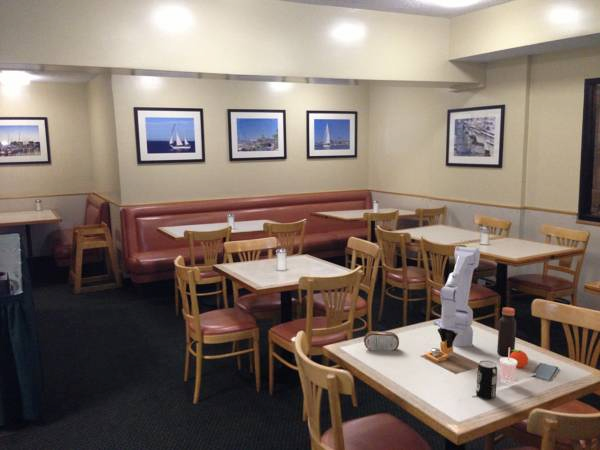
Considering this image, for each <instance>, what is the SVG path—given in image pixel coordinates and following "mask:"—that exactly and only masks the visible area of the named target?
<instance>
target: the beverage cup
mask: <svg viewBox="0 0 600 450" xmlns="http://www.w3.org/2000/svg"><path fill="white" fill-rule="evenodd" d="M509 356H510V347H509V351H508V357H504V356H502V357H500V358H499V363H500V382H501V383H502V384H504V387H505V386H506V387H512V386H514V383H515V378H516V368H517V367H516V365H517V361H516V360H515V359H513V358H509Z"/></svg>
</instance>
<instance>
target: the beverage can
mask: <svg viewBox="0 0 600 450" xmlns="http://www.w3.org/2000/svg"><path fill="white" fill-rule="evenodd" d="M478 363H479V365H478V368H477V373H476V387H475V388H476V389H475V393H476V394H477V396H478V397H479V398H480V399H484V400H493V399H494V398H496V396H497V382H498V371H499V370H498V367H497V363H496V362H493V361H491V360H480V361H479V362H478Z"/></svg>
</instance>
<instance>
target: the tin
mask: <svg viewBox="0 0 600 450" xmlns="http://www.w3.org/2000/svg"><path fill="white" fill-rule="evenodd" d="M363 343H364V346H365V348H366V349H367V350H368V351H374V350H375V351H377V350H380V351H396V350H397V349H398V348H399V345H400V339H399V337H398V335H397V334H396V333H394V332H392V331H379V330H378V331H376V330H375V331H374V330H372V331H368V332H367V333H366V334H365V335H364V337H363Z"/></svg>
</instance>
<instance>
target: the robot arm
mask: <svg viewBox="0 0 600 450" xmlns="http://www.w3.org/2000/svg"><path fill="white" fill-rule="evenodd" d="M480 257H481V250H480V249H479V248H477V247H476V248H475V247H468V246H467V247H466V246H460V245H457V246H456V247H455V249H454V260H455V265H454V269H453V272H450V273H449V274H448V277H447V281H446V283H445V285H444V286H442V287H441V289H440V294H439V295H440V304H441V318H440V319H435V320H433V326H437V327H439V328H437V332H438V334H439V336H440V340H441V342H442V341H445V340H447V348H450V347H452V344H453V347H458V348H463V347H464V348H465V347H467V346H469V347H474V346H475V344H473V341H474V340H473V339H474V338H473V337H474V330H473V328H472V324H473V319H474V315H473V314H474V311H473V309H472V308H471V307H470V306H469V305H468V304H469V297H470V294H471V293H470V291H471V286H472V280H473V275H474V270H475V269H476V268H478V266H479V264H480Z"/></svg>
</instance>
